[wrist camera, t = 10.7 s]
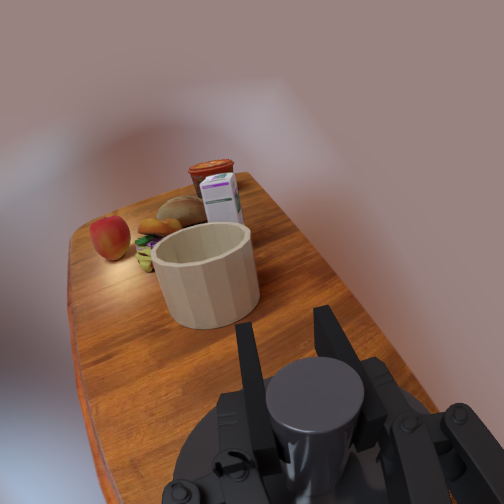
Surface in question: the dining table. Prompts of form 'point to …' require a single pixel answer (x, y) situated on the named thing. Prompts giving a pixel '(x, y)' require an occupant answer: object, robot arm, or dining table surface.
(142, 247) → the cheeseburger
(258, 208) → the dining table surface
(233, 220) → the syrup box
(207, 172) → the food container
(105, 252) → the apple
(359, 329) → the dining table surface
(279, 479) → the lid
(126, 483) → the dining table surface
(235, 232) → the pot
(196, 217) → the bread roll
